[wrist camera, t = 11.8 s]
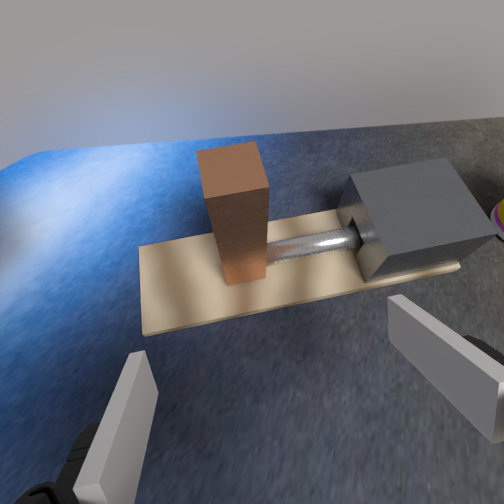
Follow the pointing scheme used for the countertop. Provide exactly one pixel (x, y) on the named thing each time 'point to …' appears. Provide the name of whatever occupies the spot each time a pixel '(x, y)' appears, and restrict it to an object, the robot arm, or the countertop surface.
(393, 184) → the bearing block
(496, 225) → the supplement bottle
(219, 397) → the countertop surface
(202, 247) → the track base
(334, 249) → the shaft
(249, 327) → the countertop surface
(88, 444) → the robot arm
